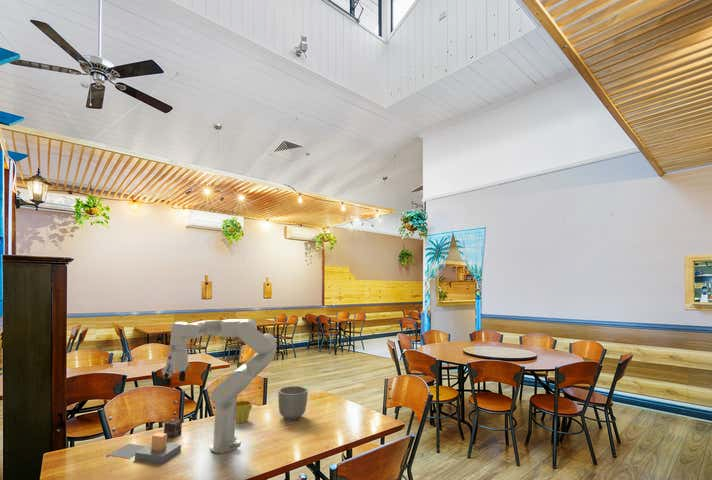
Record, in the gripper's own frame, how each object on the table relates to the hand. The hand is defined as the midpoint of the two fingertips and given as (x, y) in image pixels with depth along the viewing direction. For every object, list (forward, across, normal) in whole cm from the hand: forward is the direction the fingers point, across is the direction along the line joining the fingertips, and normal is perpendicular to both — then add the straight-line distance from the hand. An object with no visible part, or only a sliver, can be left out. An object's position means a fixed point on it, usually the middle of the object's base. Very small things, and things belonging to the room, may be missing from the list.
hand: (174, 383), depth 178 cm
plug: (+29, -9, -2) cm, 31 cm away
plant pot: (+29, +40, -14) cm, 51 cm away
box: (+30, +11, +8) cm, 33 cm away
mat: (+30, -9, +14) cm, 34 cm away
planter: (+29, +53, -40) cm, 72 cm away
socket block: (+30, -9, -2) cm, 31 cm away
